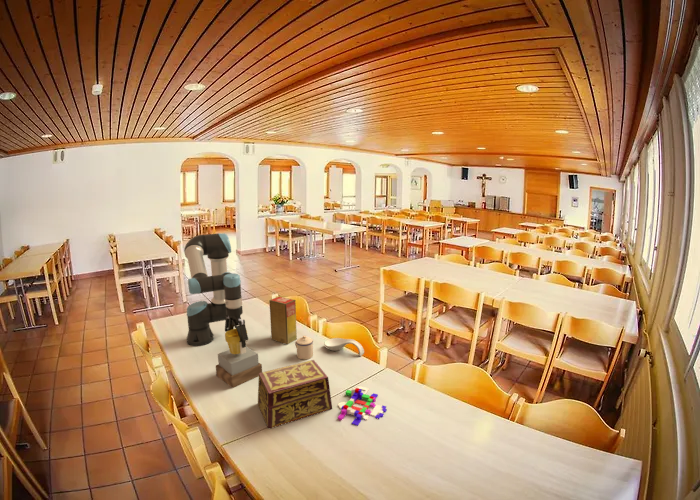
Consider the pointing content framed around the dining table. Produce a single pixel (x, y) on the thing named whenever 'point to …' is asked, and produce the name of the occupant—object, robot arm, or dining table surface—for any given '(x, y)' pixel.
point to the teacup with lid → (304, 348)
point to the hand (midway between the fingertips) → (237, 349)
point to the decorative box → (293, 393)
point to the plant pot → (233, 341)
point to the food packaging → (283, 320)
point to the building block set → (360, 412)
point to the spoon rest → (342, 344)
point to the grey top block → (238, 361)
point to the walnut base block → (238, 375)
